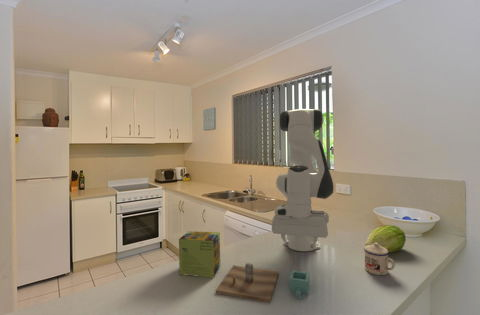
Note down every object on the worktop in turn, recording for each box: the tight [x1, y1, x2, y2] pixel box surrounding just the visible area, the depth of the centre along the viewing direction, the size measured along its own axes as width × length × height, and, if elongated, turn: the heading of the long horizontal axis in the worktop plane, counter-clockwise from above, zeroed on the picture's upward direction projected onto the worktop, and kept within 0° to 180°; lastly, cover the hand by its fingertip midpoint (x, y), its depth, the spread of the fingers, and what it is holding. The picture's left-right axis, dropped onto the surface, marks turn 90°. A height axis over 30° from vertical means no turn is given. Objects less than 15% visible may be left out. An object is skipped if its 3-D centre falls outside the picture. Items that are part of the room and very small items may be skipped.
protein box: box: [178, 230, 221, 278], centre depth 108 cm, size 10×15×16 cm
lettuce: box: [364, 224, 407, 253], centre depth 125 cm, size 13×22×14 cm
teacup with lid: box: [363, 243, 396, 276], centre depth 104 cm, size 12×9×12 cm
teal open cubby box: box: [289, 270, 310, 300], centre depth 92 cm, size 10×7×5 cm, turn 162°
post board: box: [215, 262, 280, 303], centre depth 98 cm, size 20×20×7 cm
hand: (299, 246), depth 93 cm, fingers open, 8 cm apart
